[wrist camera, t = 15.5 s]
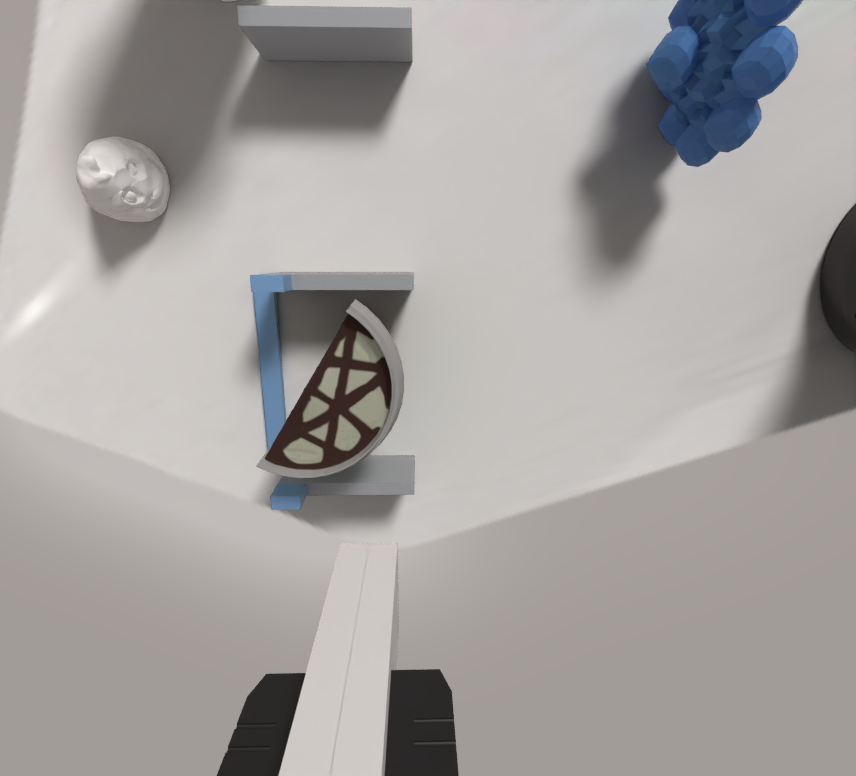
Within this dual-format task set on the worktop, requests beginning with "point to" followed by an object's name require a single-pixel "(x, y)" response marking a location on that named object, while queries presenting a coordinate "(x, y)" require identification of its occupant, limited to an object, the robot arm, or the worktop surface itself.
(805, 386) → the worktop surface
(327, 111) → the worktop surface
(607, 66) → the worktop surface
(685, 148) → the grapes
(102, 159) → the garlic bulb
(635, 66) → the worktop surface
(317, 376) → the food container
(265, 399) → the blue-edged channel bracket
